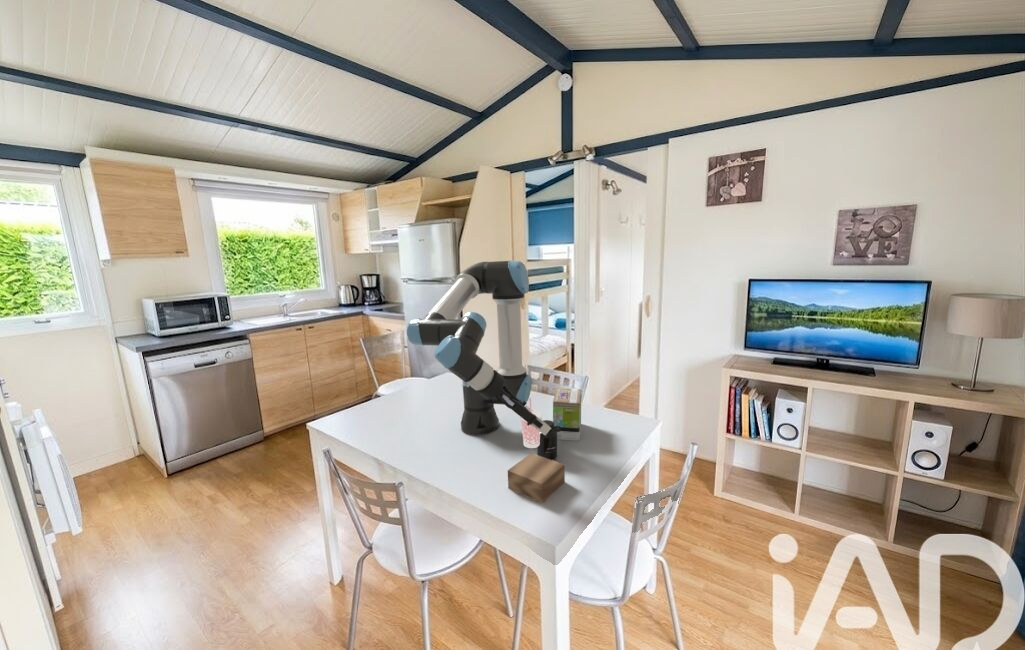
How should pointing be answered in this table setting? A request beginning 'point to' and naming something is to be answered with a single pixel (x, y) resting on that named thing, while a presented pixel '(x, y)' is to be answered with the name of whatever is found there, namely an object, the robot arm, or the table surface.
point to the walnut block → (536, 477)
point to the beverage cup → (530, 431)
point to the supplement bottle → (548, 443)
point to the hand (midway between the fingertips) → (542, 426)
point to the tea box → (567, 413)
